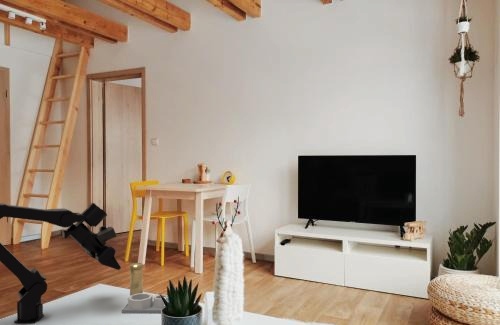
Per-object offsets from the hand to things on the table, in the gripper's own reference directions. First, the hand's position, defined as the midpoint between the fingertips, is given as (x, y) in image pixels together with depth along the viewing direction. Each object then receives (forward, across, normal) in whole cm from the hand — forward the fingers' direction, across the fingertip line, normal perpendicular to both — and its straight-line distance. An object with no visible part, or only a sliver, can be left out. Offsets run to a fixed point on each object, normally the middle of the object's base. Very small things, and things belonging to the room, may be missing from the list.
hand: (115, 266), depth 151 cm
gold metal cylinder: (+15, 0, +3) cm, 15 cm away
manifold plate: (+14, -13, +3) cm, 20 cm away
